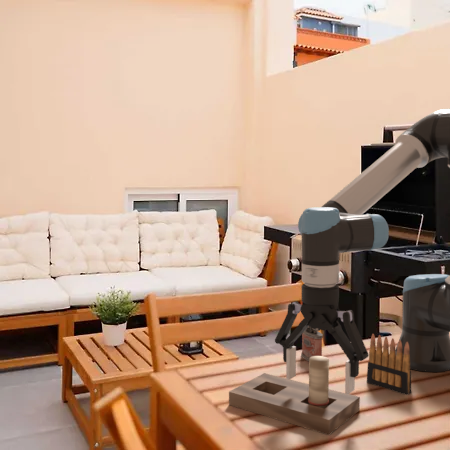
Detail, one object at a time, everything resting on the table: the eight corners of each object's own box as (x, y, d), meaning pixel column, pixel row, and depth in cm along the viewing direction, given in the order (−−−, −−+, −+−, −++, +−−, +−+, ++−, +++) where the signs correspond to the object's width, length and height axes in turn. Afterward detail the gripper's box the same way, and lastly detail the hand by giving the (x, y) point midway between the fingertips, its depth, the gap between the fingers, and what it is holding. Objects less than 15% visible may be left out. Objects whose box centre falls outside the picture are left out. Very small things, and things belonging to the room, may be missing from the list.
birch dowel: (314, 408, 128) (314, 354, 127) (332, 413, 126) (333, 358, 125) (304, 415, 125) (305, 359, 124) (322, 420, 123) (323, 363, 121)
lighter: (298, 355, 163) (298, 319, 162) (309, 353, 164) (309, 318, 163) (314, 364, 156) (314, 327, 155) (325, 363, 157) (325, 325, 156)
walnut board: (264, 385, 142) (264, 373, 142) (359, 410, 128) (359, 396, 127) (229, 404, 131) (228, 391, 130) (328, 434, 116) (329, 420, 116)
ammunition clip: (366, 382, 143) (367, 333, 142) (370, 380, 145) (371, 331, 143) (407, 395, 136) (408, 343, 134) (411, 392, 137) (413, 341, 136)
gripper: (258, 279, 127) (259, 377, 129) (370, 295, 112) (368, 404, 114) (277, 274, 133) (277, 366, 135) (386, 287, 118) (384, 391, 120)
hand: (319, 384), depth 125 cm, fingers open, 13 cm apart
